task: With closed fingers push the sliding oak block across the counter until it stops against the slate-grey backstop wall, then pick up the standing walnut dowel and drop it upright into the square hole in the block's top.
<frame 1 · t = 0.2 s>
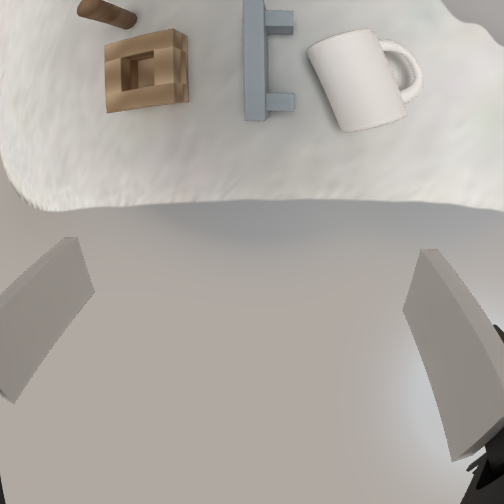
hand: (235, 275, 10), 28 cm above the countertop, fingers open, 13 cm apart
block: (146, 72, 28), point 3 cm above the countertop, slide at 0.0 cm
backstop wall: (259, 63, 29), on the countertop
mug: (364, 78, 29), on the countertop
dowel: (128, 20, 27), on the countertop
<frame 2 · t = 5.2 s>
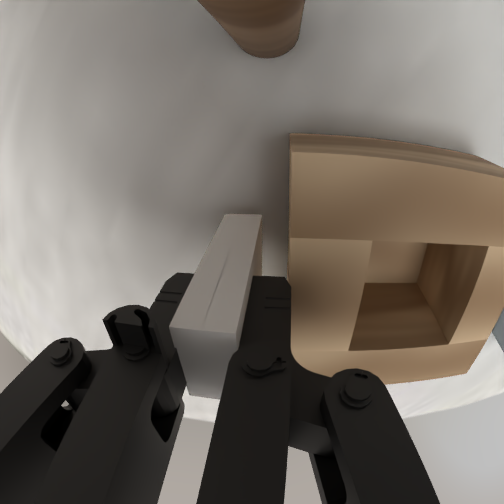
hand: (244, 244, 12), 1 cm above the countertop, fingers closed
block: (399, 264, 11), point 3 cm above the countertop, slide at 1.3 cm, touching gripper
dowel: (266, 30, 9), on the countertop
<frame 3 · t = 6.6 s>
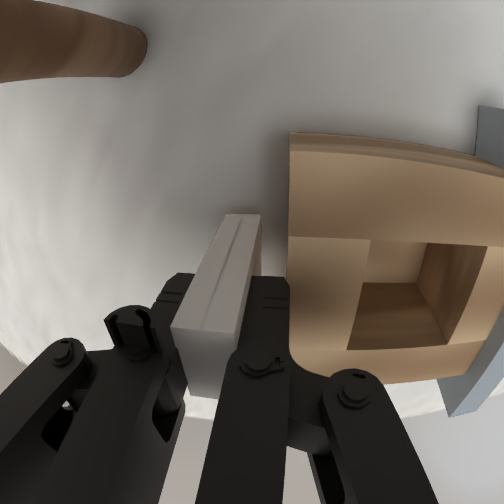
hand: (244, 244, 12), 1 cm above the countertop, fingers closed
block: (398, 264, 11), point 3 cm above the countertop, slide at 7.8 cm, touching backstop wall, gripper
backstop wall: (471, 241, 12), on the countertop
dowel: (122, 51, 10), on the countertop
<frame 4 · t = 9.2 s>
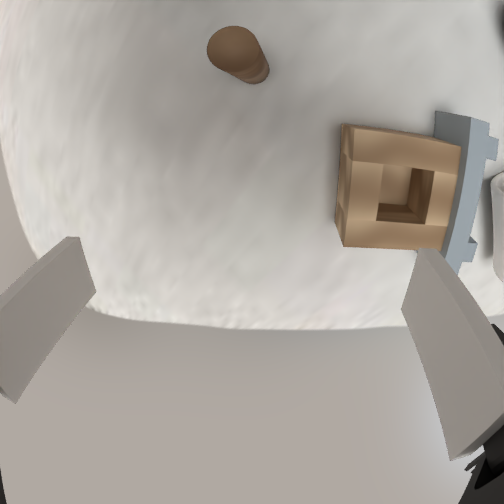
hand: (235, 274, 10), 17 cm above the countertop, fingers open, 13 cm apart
block: (395, 186, 21), point 3 cm above the countertop, slide at 7.8 cm, touching backstop wall
backstop wall: (436, 184, 23), on the countertop
dowel: (253, 69, 21), on the countertop
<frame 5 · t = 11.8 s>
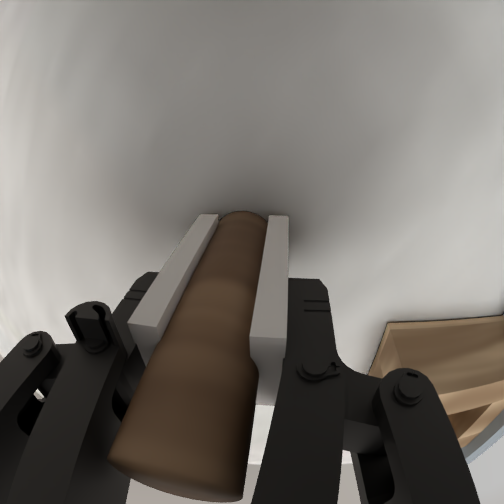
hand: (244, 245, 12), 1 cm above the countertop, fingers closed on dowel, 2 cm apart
block: (437, 398, 13), point 3 cm above the countertop, slide at 7.8 cm, touching backstop wall
backstop wall: (484, 360, 15), on the countertop
dowel: (243, 239, 13), on the countertop, touching gripper
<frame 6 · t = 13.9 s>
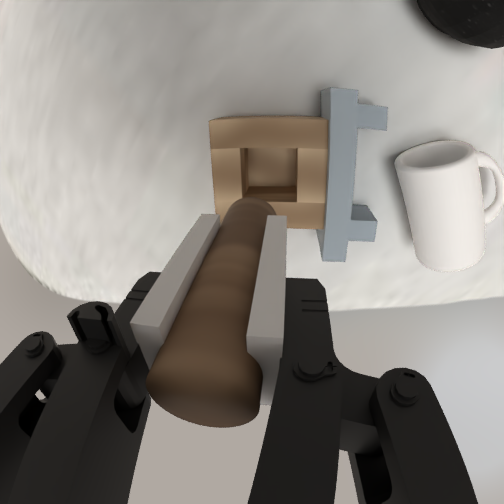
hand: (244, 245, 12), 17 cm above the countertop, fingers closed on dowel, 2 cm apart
bottle: (444, 7, 15), on the countertop
block: (270, 168, 24), point 3 cm above the countertop, slide at 7.8 cm, touching backstop wall
backstop wall: (330, 164, 26), on the countertop
mug: (442, 184, 25), on the countertop
dowel: (251, 221, 14), point 14 cm above the countertop, touching gripper
when the fingers open (7 cm above the countertop, at t = 16.5 s): dowel drops 3 cm, resting on block.
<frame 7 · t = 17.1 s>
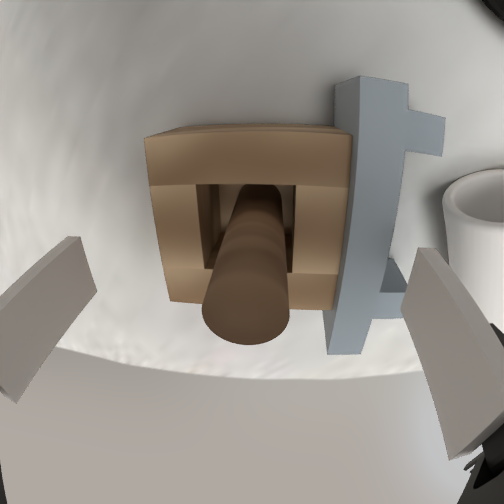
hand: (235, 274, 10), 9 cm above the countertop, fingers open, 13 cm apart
block: (252, 211, 16), point 3 cm above the countertop, slide at 7.8 cm, touching dowel
backstop wall: (345, 200, 17), on the countertop
mug: (491, 226, 17), on the countertop
dowel: (259, 200, 17), point 1 cm above the countertop, touching block
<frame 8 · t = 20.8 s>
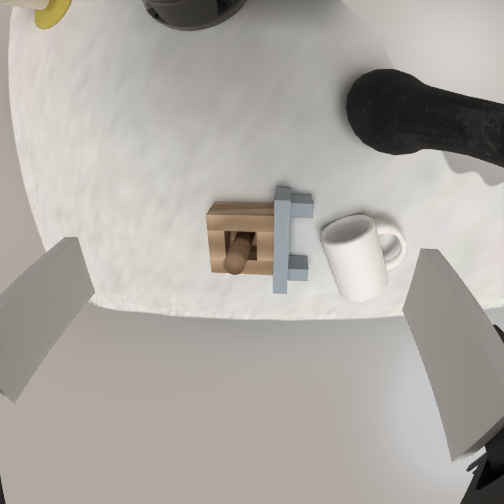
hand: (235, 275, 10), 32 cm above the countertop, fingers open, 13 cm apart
bottle: (375, 109, 34), on the countertop
block: (243, 238, 42), point 3 cm above the countertop, slide at 7.8 cm, touching dowel
backstop wall: (282, 231, 44), on the countertop
candle: (53, 5, 27), on the countertop
mug: (362, 240, 43), on the countertop
dowel: (246, 232, 44), point 1 cm above the countertop, touching block
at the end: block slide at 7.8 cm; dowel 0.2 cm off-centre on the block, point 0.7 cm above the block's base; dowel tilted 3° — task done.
